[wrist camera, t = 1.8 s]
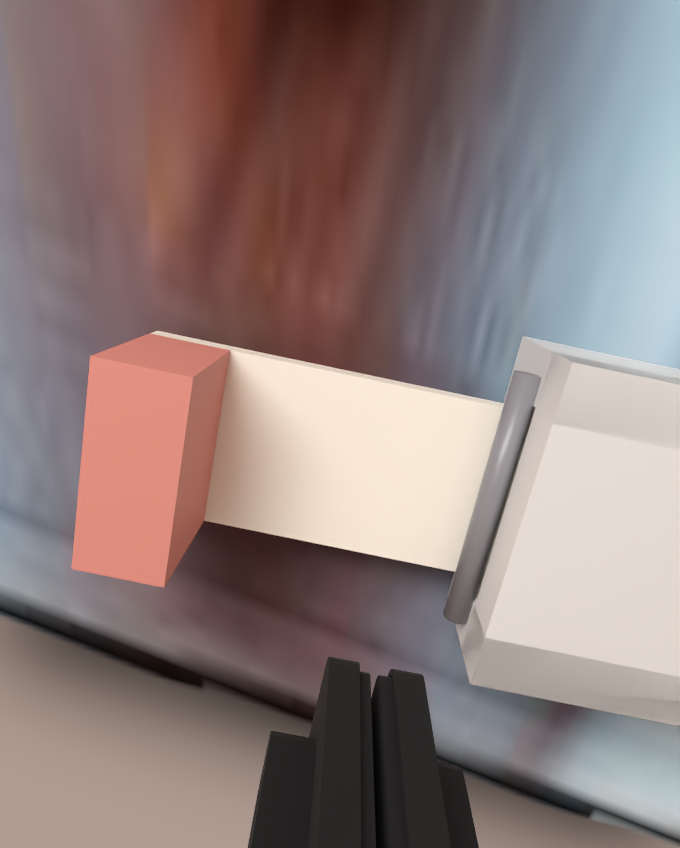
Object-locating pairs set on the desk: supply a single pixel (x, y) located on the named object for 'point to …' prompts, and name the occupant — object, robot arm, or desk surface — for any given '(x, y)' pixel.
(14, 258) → the desk surface
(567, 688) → the block
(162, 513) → the long cream plank
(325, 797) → the robot arm
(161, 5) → the desk surface
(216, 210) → the desk surface
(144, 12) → the desk surface
